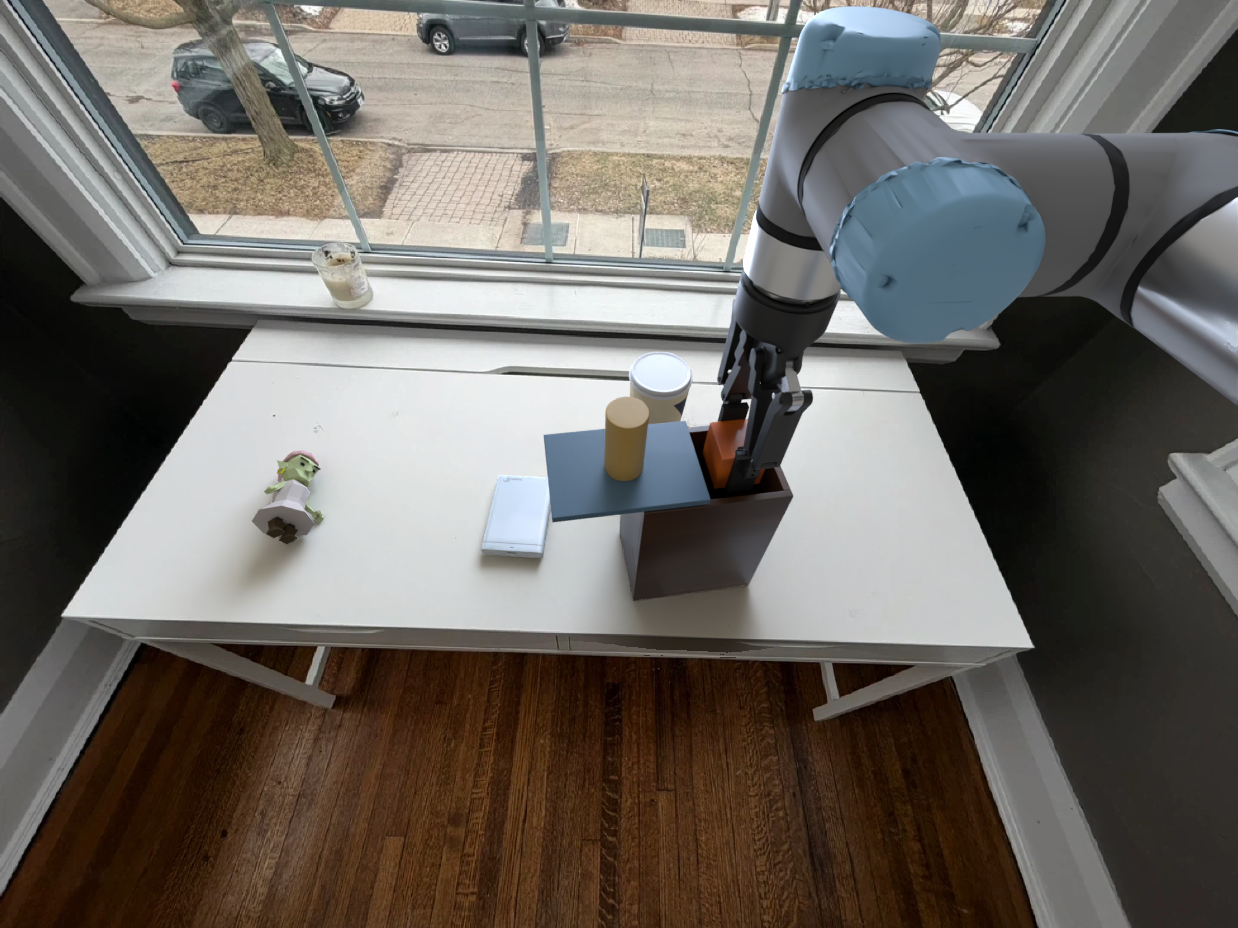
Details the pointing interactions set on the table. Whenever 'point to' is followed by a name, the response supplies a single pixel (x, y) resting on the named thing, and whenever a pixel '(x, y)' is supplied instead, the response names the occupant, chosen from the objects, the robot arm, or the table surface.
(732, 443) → the block
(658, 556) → the box
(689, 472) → the sliding lid
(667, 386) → the coffee cup
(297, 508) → the figurine
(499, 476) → the hard drive
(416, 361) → the table surface
